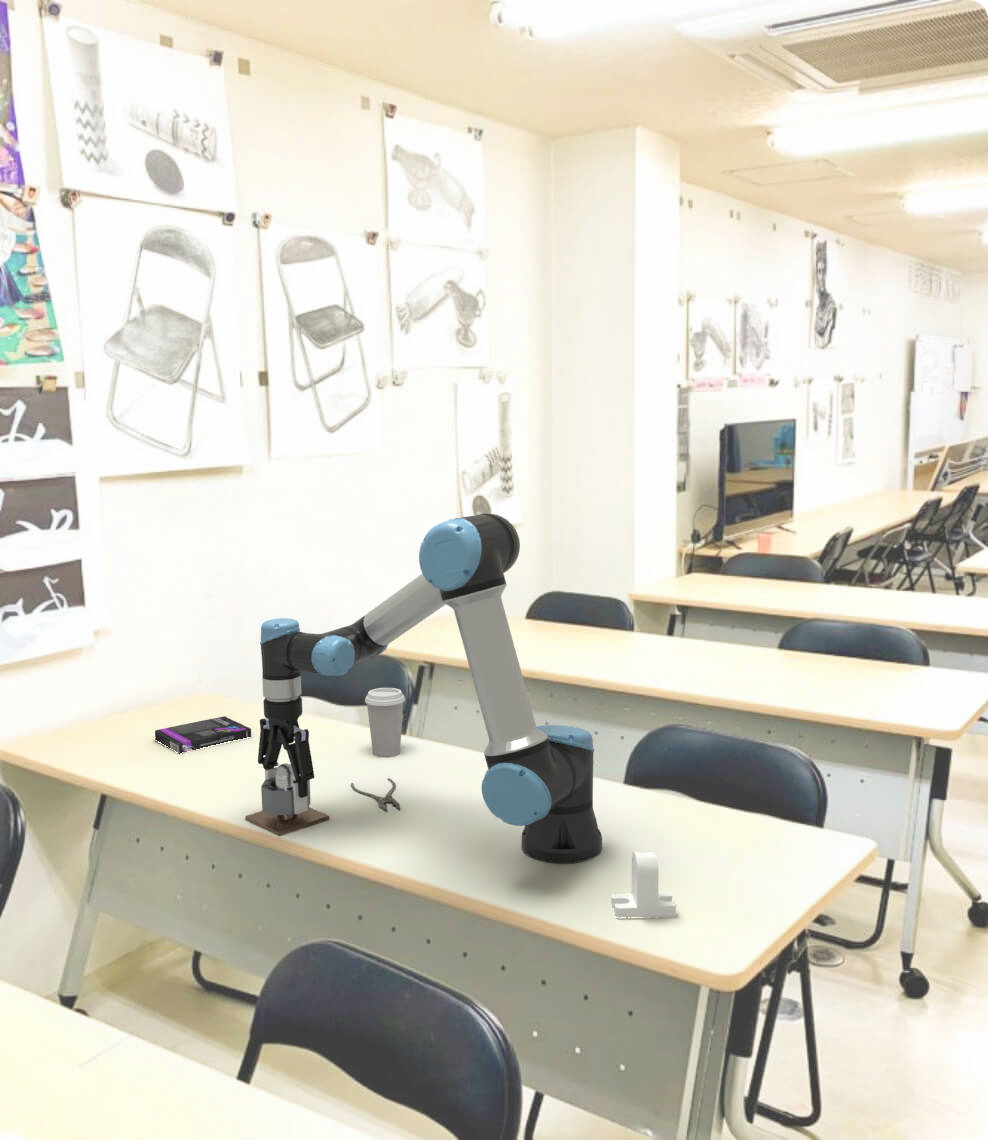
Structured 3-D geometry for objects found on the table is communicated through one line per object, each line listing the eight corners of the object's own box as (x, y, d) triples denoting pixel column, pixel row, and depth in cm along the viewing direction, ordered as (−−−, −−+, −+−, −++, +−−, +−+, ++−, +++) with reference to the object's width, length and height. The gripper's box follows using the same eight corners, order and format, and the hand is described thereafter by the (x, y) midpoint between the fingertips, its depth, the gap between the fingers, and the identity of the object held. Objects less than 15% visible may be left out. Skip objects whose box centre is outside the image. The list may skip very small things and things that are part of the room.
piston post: (329, 819, 224) (327, 763, 222) (279, 836, 215) (276, 778, 214) (295, 804, 232) (293, 750, 230) (245, 819, 224) (242, 764, 222)
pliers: (386, 775, 248) (428, 801, 232) (386, 778, 249) (428, 805, 232) (346, 783, 243) (387, 811, 227) (346, 787, 244) (387, 815, 227)
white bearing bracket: (676, 917, 180) (677, 858, 179) (615, 919, 180) (616, 860, 178) (669, 902, 185) (670, 845, 184) (610, 904, 185) (611, 847, 183)
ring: (318, 806, 223) (317, 782, 222) (280, 818, 217) (279, 794, 216) (292, 795, 230) (291, 772, 229) (254, 807, 223) (253, 783, 223)
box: (179, 758, 266) (252, 739, 279) (178, 744, 266) (251, 726, 278) (155, 743, 277) (226, 726, 289) (154, 730, 276) (226, 713, 289)
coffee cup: (414, 750, 267) (413, 689, 265) (390, 761, 259) (388, 699, 257) (383, 744, 272) (381, 684, 270) (358, 755, 264) (356, 693, 262)
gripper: (330, 703, 215) (334, 814, 218) (268, 683, 230) (272, 788, 234) (298, 711, 210) (302, 825, 213) (236, 690, 225) (241, 797, 228)
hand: (287, 805), depth 223 cm, fingers closed on ring, 9 cm apart
